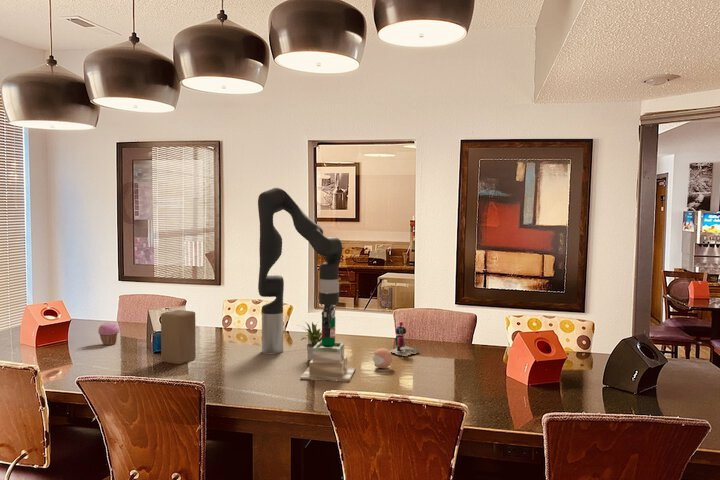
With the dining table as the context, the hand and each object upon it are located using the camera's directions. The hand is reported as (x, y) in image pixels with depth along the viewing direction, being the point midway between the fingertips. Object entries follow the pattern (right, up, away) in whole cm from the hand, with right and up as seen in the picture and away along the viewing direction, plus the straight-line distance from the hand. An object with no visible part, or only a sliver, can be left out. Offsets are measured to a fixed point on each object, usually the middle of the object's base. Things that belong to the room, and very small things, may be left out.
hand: (328, 335), depth 209 cm
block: (-62, -14, +19) cm, 66 cm away
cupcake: (-103, -12, +46) cm, 113 cm away
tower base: (0, -15, +1) cm, 15 cm away
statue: (+31, -14, +34) cm, 48 cm away
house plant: (-8, -14, +22) cm, 27 cm away
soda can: (0, -4, 0) cm, 4 cm away
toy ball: (+21, -15, +10) cm, 27 cm away
